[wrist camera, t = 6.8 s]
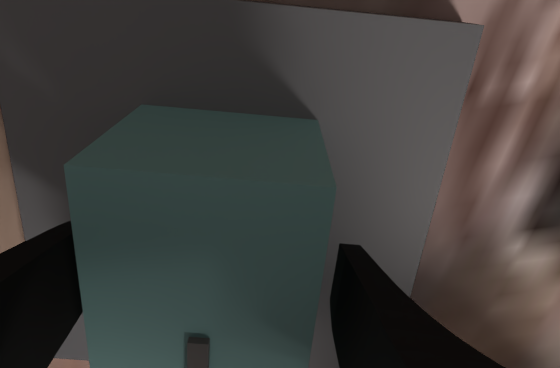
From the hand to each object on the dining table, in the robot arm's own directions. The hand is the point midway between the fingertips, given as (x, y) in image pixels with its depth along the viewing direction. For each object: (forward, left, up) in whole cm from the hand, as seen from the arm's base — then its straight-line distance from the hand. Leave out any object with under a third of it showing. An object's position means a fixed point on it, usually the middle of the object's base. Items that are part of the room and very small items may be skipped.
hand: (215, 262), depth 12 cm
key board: (0, 0, -4) cm, 4 cm away
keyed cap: (0, 0, -2) cm, 2 cm away
